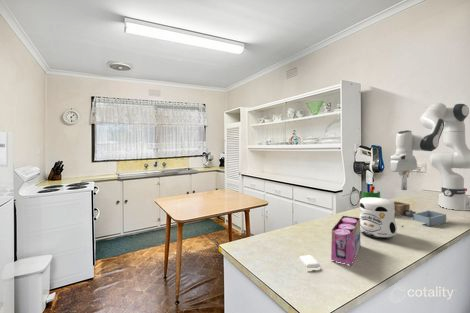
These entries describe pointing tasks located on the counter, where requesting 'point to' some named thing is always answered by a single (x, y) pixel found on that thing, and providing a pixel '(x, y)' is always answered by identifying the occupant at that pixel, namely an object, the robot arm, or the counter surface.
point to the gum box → (345, 240)
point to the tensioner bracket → (403, 210)
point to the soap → (309, 261)
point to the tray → (433, 221)
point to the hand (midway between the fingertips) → (404, 177)
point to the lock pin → (404, 181)
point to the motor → (371, 193)
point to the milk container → (377, 217)
